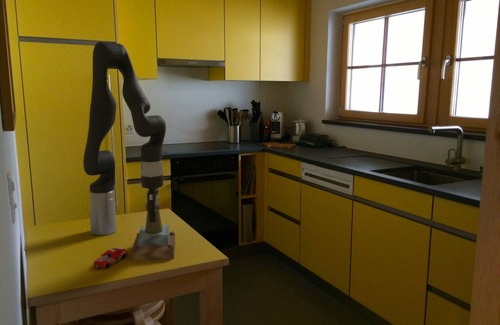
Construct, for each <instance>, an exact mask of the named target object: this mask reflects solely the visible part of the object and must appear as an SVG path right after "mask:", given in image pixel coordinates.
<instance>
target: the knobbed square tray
mask: <svg viewBox="0 0 500 325" xmlns="http://www.w3.org/2000/svg"><path fill="white" fill-rule="evenodd" d="M145 229H146V225H141V226H140V229H139V232H137V233H136V236H135V239H134V242H133V245H132V246H131V247H132V248H131V260H132V261H151V260H169V259H175V252H176V233H175V231H170V225H169V224H166V225H165V224H162V229H163V230H162V232H160V233H155V234H149V233H146V232H145Z"/></svg>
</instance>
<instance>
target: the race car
mask: <svg viewBox="0 0 500 325" xmlns="http://www.w3.org/2000/svg"><path fill="white" fill-rule="evenodd" d="M127 256H128V251H127V248H125V247H112V248H109V249H107V250H106V251H104V252H103V253H102V254H100V256H99V257H98V258H96V259H95V260H94V261H93V267H94V268H95V269H99V270H100V269H101V270H102V269H109V268H110V267H112V266H114V265H115V264H117V263H119V262H120V261H122V260H125V258H127Z"/></svg>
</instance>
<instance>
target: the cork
mask: <svg viewBox="0 0 500 325" xmlns="http://www.w3.org/2000/svg"><path fill="white" fill-rule="evenodd" d="M144 207H145V209H146V220H145V221H146V222H145V226H146V229H145V232H146V233H149V234H155V233H160V232H162V230H163V229H162V225H163V224H162V219H161V218H162V217H161V213H160V209H161V202H160V201H159V200H158V201H157V206H156V221H155V222H149V212H148V211H147V209H148V206H147V201H146V203H145V206H144ZM150 208H153V206H150Z"/></svg>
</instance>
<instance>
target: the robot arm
mask: <svg viewBox="0 0 500 325" xmlns="http://www.w3.org/2000/svg"><path fill="white" fill-rule="evenodd" d="M108 70H118V71H119V72H120V74H121V76H122V78H123V80H122V86H121V88H122V89H121V90H122V92H121V93H122V97H123V100H124V102H125V104H126V105H127V108H128V110H129V112H130V115H131V119H132V124H133V129H134V131H135V133H136V134H137V135H138V136H140V137H142V138H149V140H148V141H147V142H145V143H143V144H142V145H140V146H141V147H140V160H141V161H140V181H141V182H140V183H141V184H140V185H141V187H142V188H143V189H147V190H148V191H147V192H146V202H147V206H148V209H146V212H147V211H148V212H149V222H155V221H156V206H157V201H159V200H160V191H159V190H158V189H160V188H163V187H164V167H163V166H164V165H163V155H162V154H163V153H162V152H163V151H162V149H163V145H164V140H165V136H166V132H167V126H166V121H165V118H163V117H162V116H161V115H158V114H157V115H155V114H154V115H147V113H149V111H150V110H151V104H150V101H149V100H148V97H147V96H146V94H145V93H144V91H143V89H142V88H141V85H140V83H139V80H138V77H137V75H136V71H135V68H134V66H133V63H132V60H131V57H130V55H129V53H128V51H127V48H126V47H125V45H123V44H121V43H118V42H108V41H107V42H106V41H98V42H96V43H95V45H94V46H93V49H92V84H91V86H92V87H91V95H90V96H91V97H90V98H91V99H90V106H89V114H88V115H89V118H88V128H87V129H88V131H87V137H86V143H85V144H86V145H85V149H84V154H83V158H82V159H83V161H82V162H83V170H84V172H85V174H86V175H88V176H90V177H92V176H93V177H94V176H98V175H99V176H98V178H97V179H96V180H95V181H93V182H92V183H90V184H89V198H90V199H89V201H90V211H89V220H90V223H89V225H90V235H95V236H108V235H111V234H114V233H115V232H116V233H117V216H116V200H115V184H116V161H115V160H116V159H115V156H114V154H113V152H111V151H110V150H108V149H106V150H100V149H101V146H102V143H103V141H104V139H105V138H106V136H107V135H108V134H109V133H110V131H111V129H112V128H113V126H114V124H115V122H116V116H117V102H116V99H115V96H114V95H113V93H112V91H111V89H110V87H109V84H108ZM150 206H153V208H150Z"/></svg>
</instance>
